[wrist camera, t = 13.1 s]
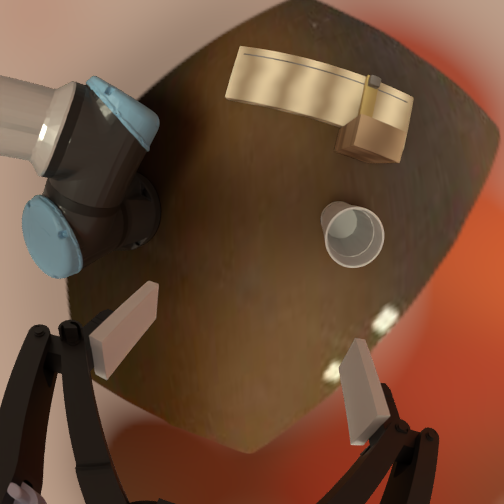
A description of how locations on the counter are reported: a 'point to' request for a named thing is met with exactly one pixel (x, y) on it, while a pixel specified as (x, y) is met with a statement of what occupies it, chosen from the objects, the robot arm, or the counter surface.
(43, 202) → the robot arm
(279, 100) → the board
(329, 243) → the cup
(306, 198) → the counter surface
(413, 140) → the counter surface
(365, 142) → the gauge
